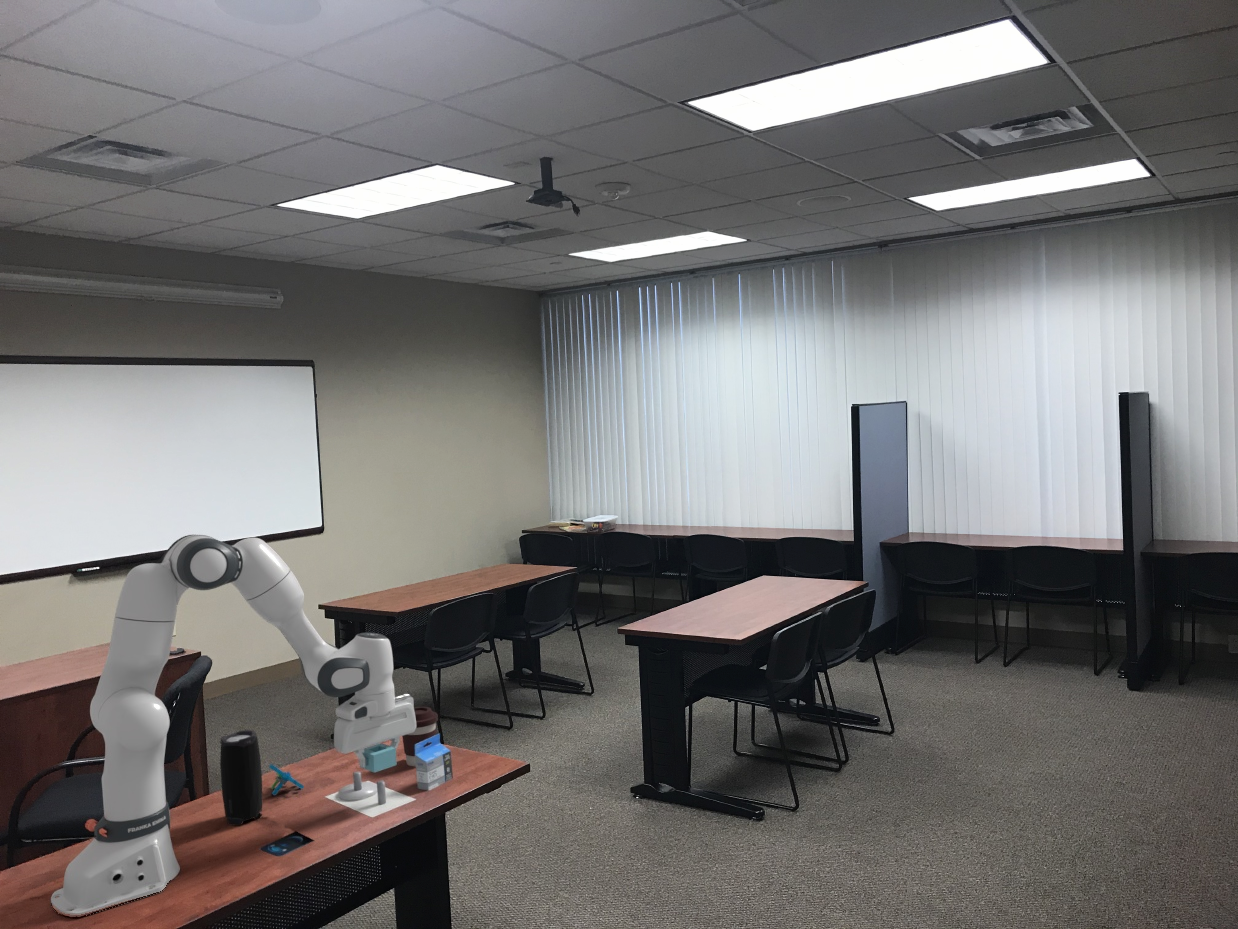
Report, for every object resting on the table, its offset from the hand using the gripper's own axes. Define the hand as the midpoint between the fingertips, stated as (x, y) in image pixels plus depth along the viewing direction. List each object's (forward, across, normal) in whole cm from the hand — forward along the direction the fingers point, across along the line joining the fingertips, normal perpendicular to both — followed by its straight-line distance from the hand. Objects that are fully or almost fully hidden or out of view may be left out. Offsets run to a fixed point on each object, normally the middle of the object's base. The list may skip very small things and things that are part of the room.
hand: (377, 761), depth 212 cm
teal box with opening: (+1, 0, 0) cm, 1 cm away
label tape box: (+12, -16, 0) cm, 19 cm away
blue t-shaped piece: (+12, +7, -30) cm, 33 cm away
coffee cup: (+11, -23, -15) cm, 29 cm away
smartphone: (+12, +19, -2) cm, 23 cm away
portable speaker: (+12, +21, -23) cm, 34 cm away
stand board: (+12, -1, -5) cm, 13 cm away
